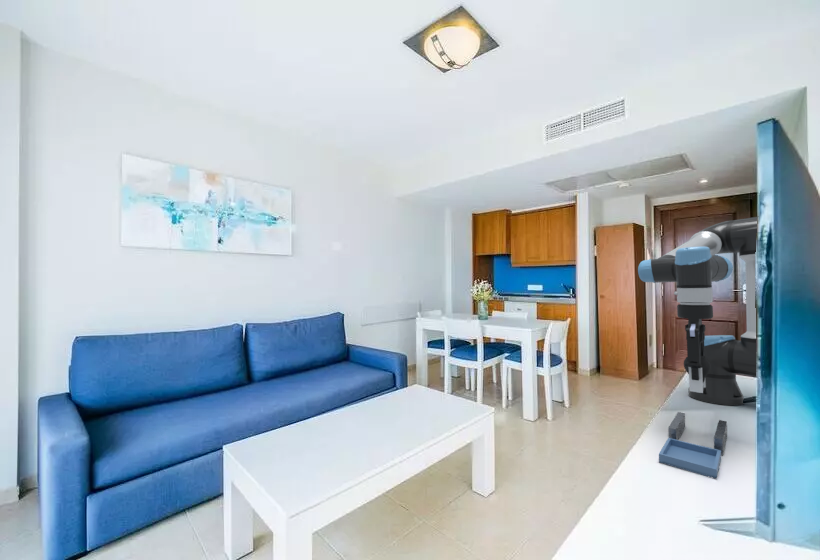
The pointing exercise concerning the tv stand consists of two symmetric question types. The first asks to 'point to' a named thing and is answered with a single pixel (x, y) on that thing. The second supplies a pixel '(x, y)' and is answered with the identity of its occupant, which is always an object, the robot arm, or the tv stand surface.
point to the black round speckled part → (704, 367)
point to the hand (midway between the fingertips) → (697, 388)
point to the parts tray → (691, 457)
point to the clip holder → (679, 426)
